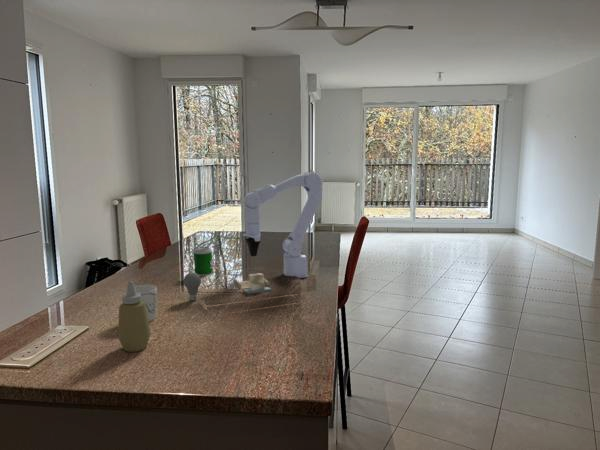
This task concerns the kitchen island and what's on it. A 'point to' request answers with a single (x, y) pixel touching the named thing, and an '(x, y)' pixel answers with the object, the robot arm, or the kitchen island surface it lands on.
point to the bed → (246, 283)
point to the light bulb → (192, 284)
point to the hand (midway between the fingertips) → (253, 255)
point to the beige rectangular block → (256, 281)
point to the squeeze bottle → (133, 321)
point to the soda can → (203, 261)
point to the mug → (148, 299)
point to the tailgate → (257, 290)
